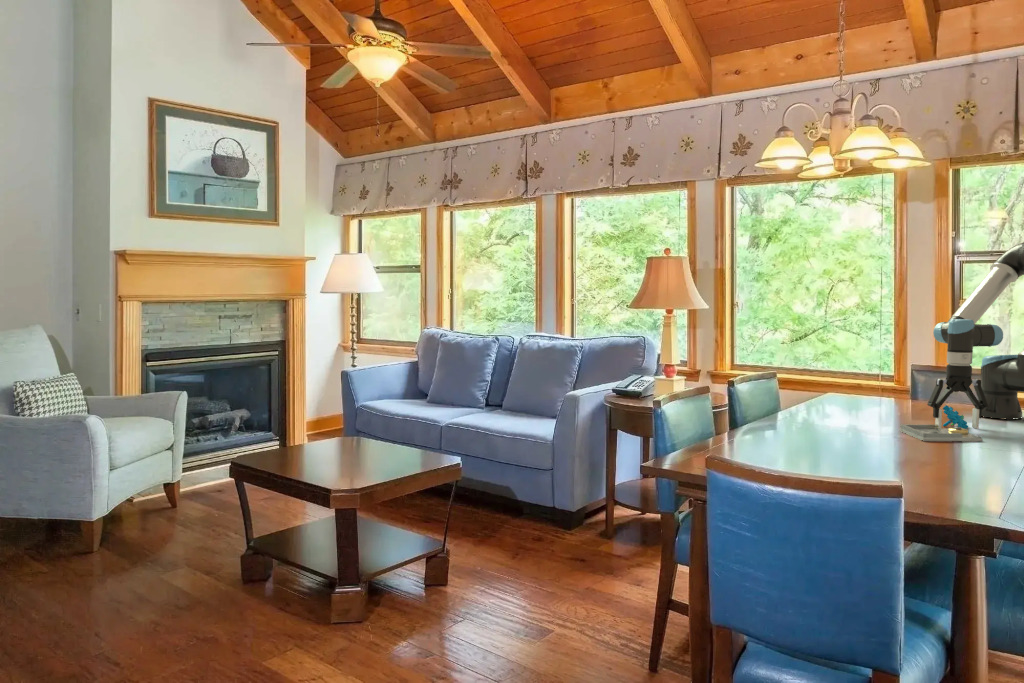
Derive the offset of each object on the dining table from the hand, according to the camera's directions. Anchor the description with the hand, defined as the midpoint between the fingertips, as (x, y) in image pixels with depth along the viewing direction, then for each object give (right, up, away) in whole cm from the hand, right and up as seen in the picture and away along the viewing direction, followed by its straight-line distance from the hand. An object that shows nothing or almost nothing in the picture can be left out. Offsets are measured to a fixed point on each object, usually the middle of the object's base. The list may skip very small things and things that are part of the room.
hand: (956, 427), depth 260 cm
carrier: (-14, -1, -14) cm, 20 cm away
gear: (0, 0, 0) cm, 1 cm away
